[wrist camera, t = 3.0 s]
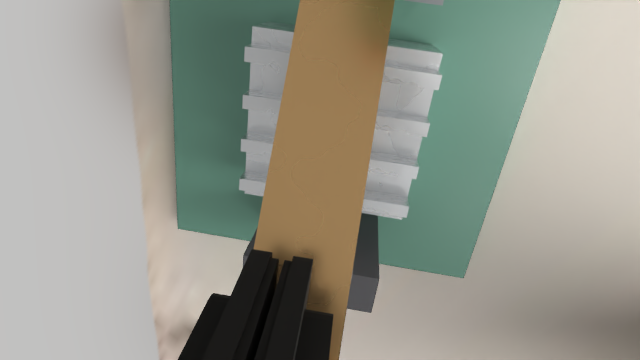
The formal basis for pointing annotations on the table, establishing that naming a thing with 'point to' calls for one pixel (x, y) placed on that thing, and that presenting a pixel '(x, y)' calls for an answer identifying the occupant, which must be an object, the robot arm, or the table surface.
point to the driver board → (435, 150)
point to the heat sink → (391, 122)
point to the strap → (325, 146)
